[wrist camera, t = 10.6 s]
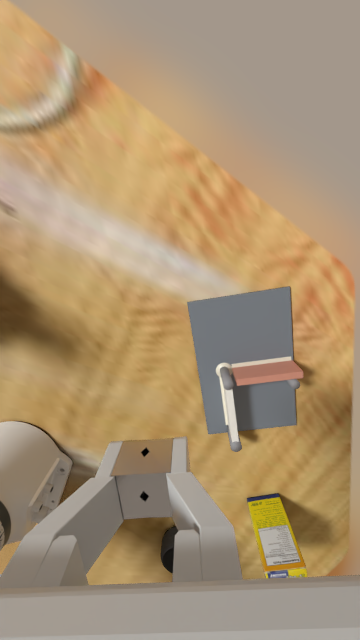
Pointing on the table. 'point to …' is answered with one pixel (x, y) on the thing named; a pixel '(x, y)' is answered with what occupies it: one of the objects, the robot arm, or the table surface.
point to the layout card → (244, 356)
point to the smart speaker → (168, 549)
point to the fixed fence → (230, 407)
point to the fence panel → (267, 373)
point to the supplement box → (275, 538)
